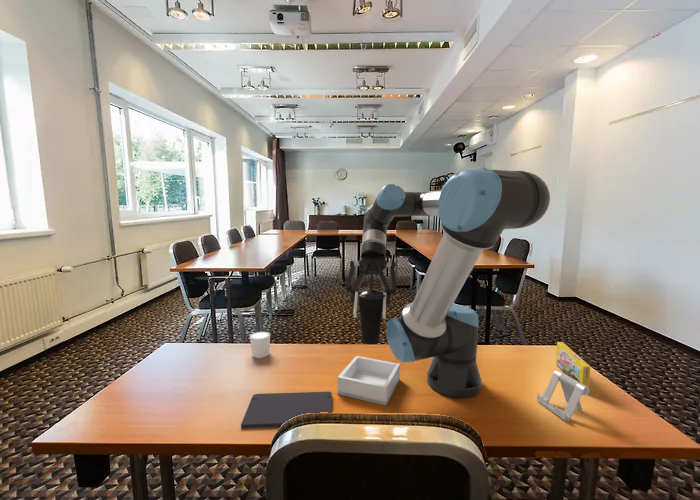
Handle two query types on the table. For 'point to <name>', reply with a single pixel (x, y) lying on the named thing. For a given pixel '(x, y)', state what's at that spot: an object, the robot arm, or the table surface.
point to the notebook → (284, 407)
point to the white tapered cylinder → (260, 344)
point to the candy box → (572, 364)
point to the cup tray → (369, 380)
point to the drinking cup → (370, 313)
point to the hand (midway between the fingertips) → (369, 316)
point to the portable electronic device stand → (571, 393)
